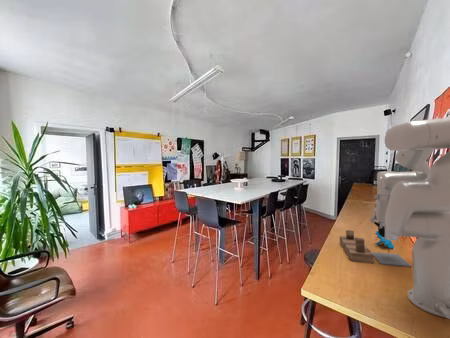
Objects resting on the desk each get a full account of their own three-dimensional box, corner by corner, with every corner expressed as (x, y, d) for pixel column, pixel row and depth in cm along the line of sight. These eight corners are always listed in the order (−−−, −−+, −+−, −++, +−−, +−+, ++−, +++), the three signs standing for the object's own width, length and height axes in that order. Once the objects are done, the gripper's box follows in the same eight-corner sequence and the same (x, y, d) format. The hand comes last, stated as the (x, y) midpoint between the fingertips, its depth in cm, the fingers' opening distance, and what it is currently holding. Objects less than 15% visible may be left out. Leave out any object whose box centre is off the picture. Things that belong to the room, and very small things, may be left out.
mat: (410, 267, 86) (410, 265, 86) (380, 264, 90) (380, 263, 90) (397, 255, 97) (397, 254, 97) (371, 253, 100) (371, 252, 100)
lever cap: (398, 240, 90) (397, 225, 89) (385, 239, 91) (384, 225, 91) (391, 235, 95) (391, 221, 95) (379, 234, 97) (379, 221, 97)
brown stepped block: (373, 263, 91) (372, 241, 91) (351, 261, 94) (350, 240, 93) (357, 243, 112) (357, 226, 112) (339, 242, 115) (339, 225, 114)
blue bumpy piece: (390, 248, 101) (374, 231, 107) (380, 254, 104) (365, 236, 110) (398, 245, 107) (382, 229, 113) (388, 250, 110) (373, 234, 116)
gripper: (369, 199, 91) (370, 238, 92) (415, 199, 86) (415, 240, 87) (363, 196, 99) (364, 232, 99) (405, 196, 93) (406, 234, 94)
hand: (388, 235), depth 93 cm, fingers closed on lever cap, 4 cm apart
